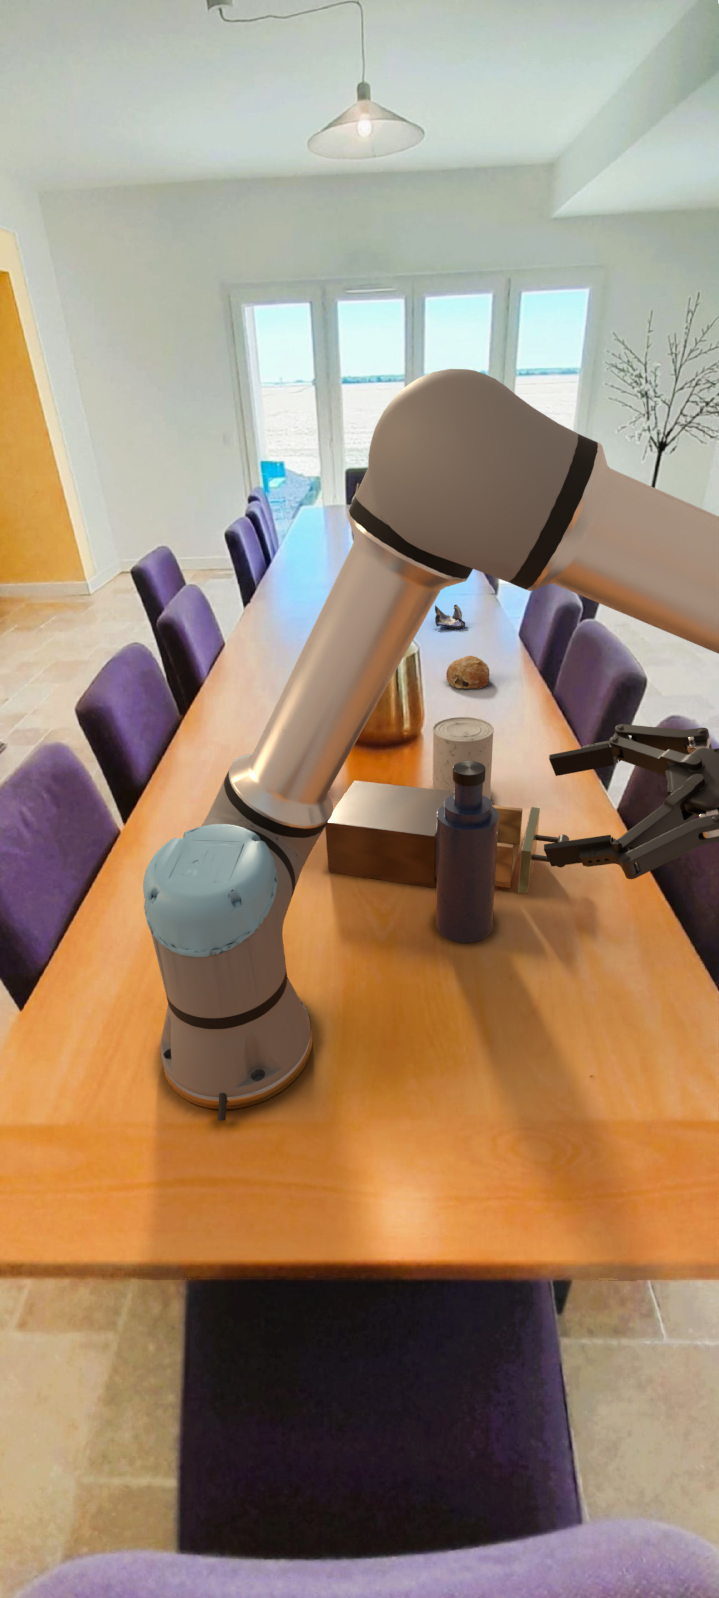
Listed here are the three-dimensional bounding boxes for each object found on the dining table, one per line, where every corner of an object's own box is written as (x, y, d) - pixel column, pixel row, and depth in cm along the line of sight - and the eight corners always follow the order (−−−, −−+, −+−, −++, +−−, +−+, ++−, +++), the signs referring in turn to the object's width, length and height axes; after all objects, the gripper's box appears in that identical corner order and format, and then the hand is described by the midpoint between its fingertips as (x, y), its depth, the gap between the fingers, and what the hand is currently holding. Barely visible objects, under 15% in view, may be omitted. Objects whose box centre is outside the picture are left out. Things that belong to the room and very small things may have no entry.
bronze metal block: (453, 839, 107) (454, 791, 103) (434, 888, 97) (434, 836, 93) (356, 827, 112) (354, 780, 108) (328, 872, 101) (324, 822, 97)
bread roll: (443, 700, 167) (441, 675, 161) (451, 669, 173) (449, 643, 166) (486, 703, 164) (485, 677, 158) (493, 671, 170) (492, 645, 164)
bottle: (487, 947, 86) (496, 785, 75) (430, 937, 88) (430, 778, 78) (496, 912, 92) (505, 757, 81) (442, 903, 94) (444, 751, 83)
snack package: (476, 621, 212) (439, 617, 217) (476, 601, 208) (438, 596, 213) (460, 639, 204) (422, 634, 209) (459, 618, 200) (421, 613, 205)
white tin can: (423, 804, 117) (422, 735, 111) (445, 779, 124) (446, 713, 118) (479, 816, 113) (481, 745, 107) (498, 790, 120) (502, 721, 114)
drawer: (567, 851, 102) (572, 811, 99) (561, 899, 92) (566, 856, 89) (438, 835, 107) (438, 796, 104) (420, 878, 98) (419, 837, 94)
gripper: (748, 663, 74) (545, 709, 84) (794, 843, 57) (533, 875, 67) (757, 717, 79) (562, 756, 88) (802, 900, 62) (556, 923, 72)
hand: (549, 808), depth 78 cm, fingers open, 13 cm apart
